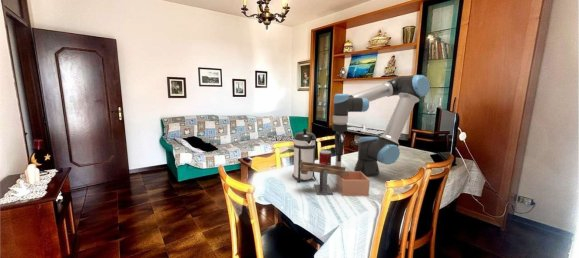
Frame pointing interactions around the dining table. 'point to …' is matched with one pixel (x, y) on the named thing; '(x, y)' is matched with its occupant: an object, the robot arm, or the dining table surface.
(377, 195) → the dining table surface
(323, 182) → the chute stand
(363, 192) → the brown cardboard box
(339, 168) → the tipping chute
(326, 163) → the canned food
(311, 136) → the coffee press
